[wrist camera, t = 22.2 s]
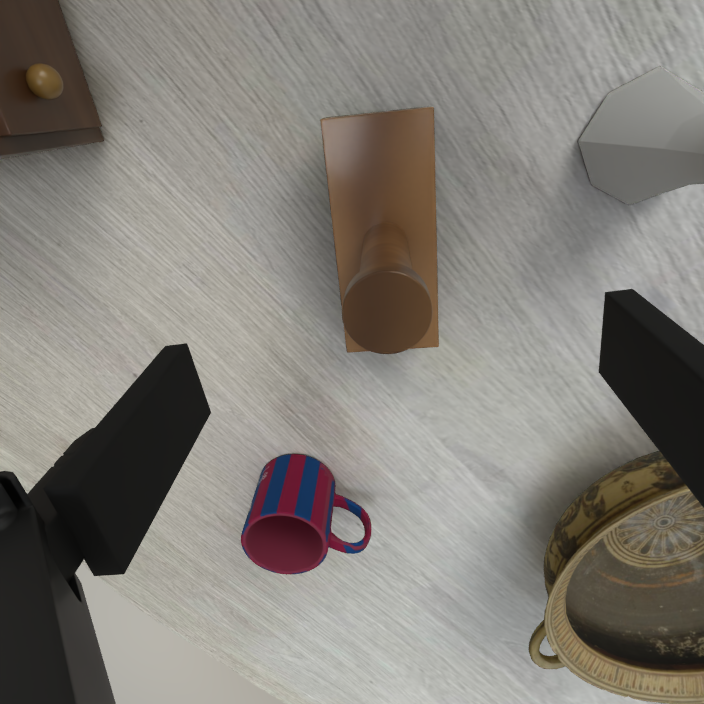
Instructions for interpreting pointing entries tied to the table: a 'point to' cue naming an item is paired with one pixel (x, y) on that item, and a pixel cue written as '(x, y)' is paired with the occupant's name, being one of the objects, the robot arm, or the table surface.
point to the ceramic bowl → (629, 586)
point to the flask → (646, 138)
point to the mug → (296, 516)
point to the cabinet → (41, 82)
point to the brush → (384, 227)
